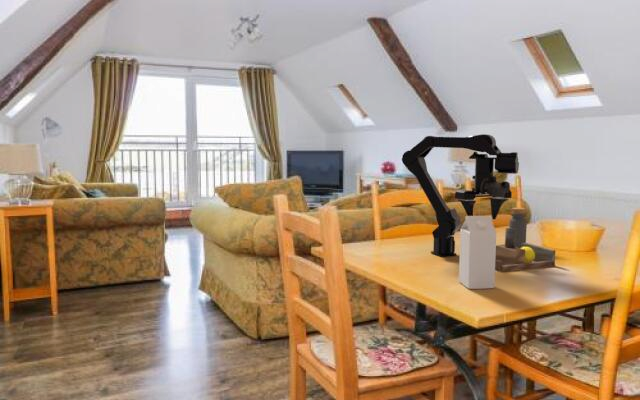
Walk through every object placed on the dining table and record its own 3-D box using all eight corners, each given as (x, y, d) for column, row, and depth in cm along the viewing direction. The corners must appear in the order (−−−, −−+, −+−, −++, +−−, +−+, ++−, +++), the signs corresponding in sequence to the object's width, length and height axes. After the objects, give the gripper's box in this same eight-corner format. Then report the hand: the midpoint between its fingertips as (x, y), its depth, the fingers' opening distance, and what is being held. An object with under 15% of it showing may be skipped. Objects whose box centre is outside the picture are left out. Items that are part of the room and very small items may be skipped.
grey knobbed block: (514, 267, 155) (515, 231, 153) (494, 261, 163) (495, 226, 162) (524, 266, 156) (526, 230, 155) (504, 260, 164) (505, 226, 163)
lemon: (535, 267, 158) (536, 251, 157) (517, 266, 160) (518, 250, 158) (533, 259, 165) (534, 244, 163) (515, 258, 166) (516, 243, 165)
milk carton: (458, 282, 139) (460, 214, 137) (483, 281, 140) (485, 213, 138) (468, 289, 132) (470, 218, 130) (494, 288, 133) (497, 217, 131)
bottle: (525, 248, 185) (526, 207, 183) (526, 251, 179) (527, 209, 177) (508, 247, 187) (509, 207, 185) (508, 250, 181) (510, 208, 179)
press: (500, 271, 150) (500, 255, 150) (472, 262, 162) (473, 247, 162) (554, 265, 158) (555, 250, 157) (524, 257, 170) (525, 242, 169)
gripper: (476, 174, 154) (474, 225, 156) (524, 173, 160) (522, 222, 162) (454, 173, 164) (453, 220, 166) (500, 171, 171) (499, 217, 172)
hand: (482, 220), depth 166 cm, fingers open, 9 cm apart
